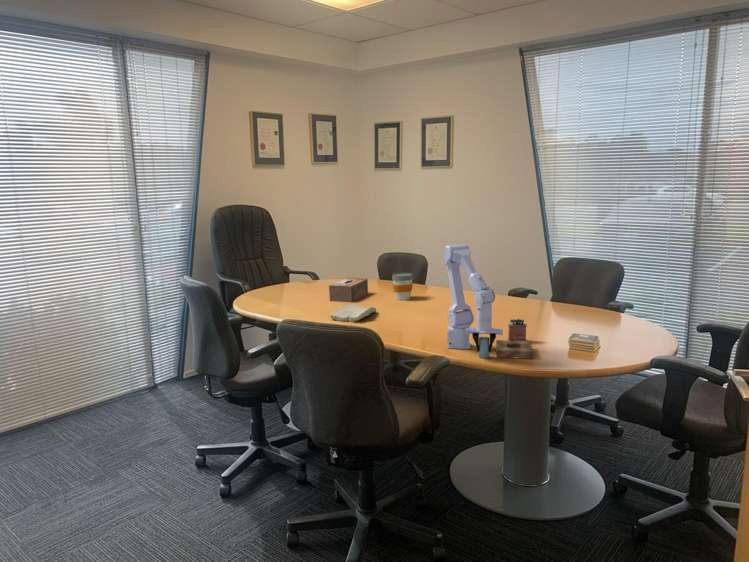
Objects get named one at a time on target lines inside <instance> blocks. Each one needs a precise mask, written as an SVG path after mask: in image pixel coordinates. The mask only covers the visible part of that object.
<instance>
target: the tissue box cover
mask: <svg viewBox="0 0 749 562" xmlns="http://www.w3.org/2000/svg"><path fill="white" fill-rule="evenodd" d="M368 282H369V281H368V278H361V277H345V278H343V279H340V280H338V281H335V282H334V283H331V284H329V285H328V290H329V301H330V302H337V303H353V302H355V301H357V300H359V299H360V298H362V297H364V296H367V295H369V287H368V285H369V283H368Z"/></svg>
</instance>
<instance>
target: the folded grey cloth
mask: <svg viewBox="0 0 749 562" xmlns="http://www.w3.org/2000/svg"><path fill="white" fill-rule="evenodd" d="M376 312H377V308H376V307H375V306H370V307H365V306H362V305H359V304H358V303H352V304H345V305H343V306H340V307H337V308H336V310H335V311H333V312H332V313H331V314H330V315H329V318H331V319H332V320H334V321H337V322H351V323H352V322H353V323H355V322H358V321H361V319H363V318H365V317H367V316H369V315H371V314H373V313H376Z"/></svg>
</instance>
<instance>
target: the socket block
mask: <svg viewBox="0 0 749 562" xmlns="http://www.w3.org/2000/svg"><path fill="white" fill-rule="evenodd" d="M495 341H496V344H495V348H496V349H495V350H496V353H497V354H496V358H497V357H519V358H518V359H521V358H534V356H533V355H534V354H533V353H534V351H533V347H532V343H531V341H529V340H528V341H527V340H526V341H508V339H507V340H503V339H499V340H497V339H495Z"/></svg>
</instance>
